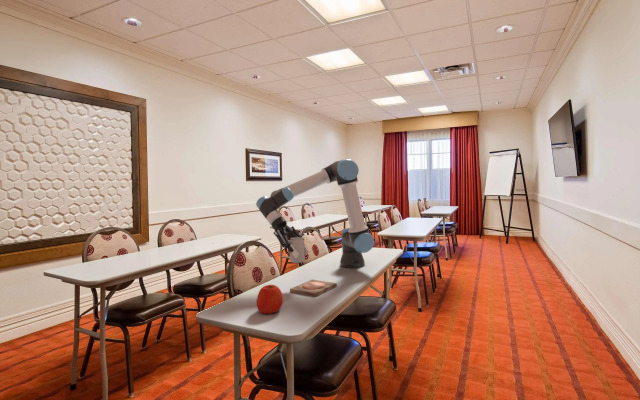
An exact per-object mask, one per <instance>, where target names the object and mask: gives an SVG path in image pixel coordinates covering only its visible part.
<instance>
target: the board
mask: <svg viewBox="0 0 640 400" xmlns="http://www.w3.org/2000/svg"><path fill="white" fill-rule="evenodd" d="M337 286H338V282H331V281H325V280H318V279H309V280H308V281H305V282H302V283H301V284H299V285H296V286H292V287H290V288H289V292H290V293H293V294H299V295H304V296H310V297H318V296H320V295H321V294H324V293H326V292H328V291H330V290H331V289H335V288H336V287H337Z"/></svg>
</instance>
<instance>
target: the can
mask: <svg viewBox="0 0 640 400" xmlns="http://www.w3.org/2000/svg"><path fill="white" fill-rule="evenodd" d="M302 237H303V236H302ZM302 237H293V238H291V237H289V238H290V239H289V243H290V245H291V244H292V245H293V247H294V248H295V249H296V251H297V252H298V253H299V255H298V257H297V258H295V257H294V256H293V254H292V253H291V252H290V251H289V261H290V262H291V263H293V264H301V263H303V262H304V261H305V260H306V255H305V250H304V244H305V239H304V238H303V239H304V240H303V239H302Z"/></svg>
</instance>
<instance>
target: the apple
mask: <svg viewBox="0 0 640 400" xmlns="http://www.w3.org/2000/svg"><path fill="white" fill-rule="evenodd" d="M283 303H284V297H283V293H282V291H281V288H279V287H278V286H277V285H276V284H275V285H274V284H267V285H264V286H262V287H261V288H260V289H259V291H258V293H257V297H256V307H257V310H258V311H259V312H260V314H264V315H270V314H273V313H277V312H278V311H279V310H280V309H281V307H282V306H283Z"/></svg>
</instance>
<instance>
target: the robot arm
mask: <svg viewBox="0 0 640 400" xmlns="http://www.w3.org/2000/svg"><path fill="white" fill-rule="evenodd" d="M320 170H321V171H318V172H316V173H314V174H312V175H309V176H306V177H305V178H302V179H299V180H298V181H295V182H293V183H291V184H287V186H284V187H281V188H279V189H277V190H273V191H272V192H271V193H270V197H268V196H267V195H266V196H265V195H263V196H261V197H258V199H257V201H256V202H255V205H256V207H257V209H258V211H259V212H260V214H262V215H263V217H264V219H265V220H266V221H267V223H268V224H270V226H271V228H272V229H273V230H274V231H273V235H275V237H276V239H277V240H278V242H279V244H280V246H281V247H282V248H284V249H285V250H289V253H290V252H291V253H292V254H293V256H294V257H295V258H297V257H298V255H299V253H298V252H297V251H296V249H295V248H294V247H293V245H292V244H291V245H290V243H289V241H290V239H289V238H293V237H302V239H303V240H304V241H305V238H304V237H303V236H302V235H301V234H300V233H299V232H298V231H297V230H296V229H295V226H291V227H290V226H289V225H288V222H287V221H286V219H285V218H284V217H283V215H282V214H281V212H280V211H279V209H280V208H281V207H283V206H284V205H286V204H288V203H289V202H291V200H293V199H294V198H296V197H298V196H300V195H301V194H304V193H307V192H309V191H310V190H313V189H315V188H317V187H320V186H322V185H324V184H331V183H334V182H337V183H336V184H337V186H338V187H339V188H341V193H342V198H343V201H344V206H345V210H346V215H347V219H348V225H349V228H342V230H341V247H342V248H341V249H342V254H341V258H340V262H339V266H340V265H341V268H347V269H348V268H349V269H353V268H361V267H364V266H366V261H365V259H364V256H363V254H365V253H368V252H369V251H371V250H372V249H373V247H374V245H375V239H374V236H373V235H372V234H371V233H370V230H369V227H368V226H367V225H366V223H365V220H364V215H363V212H362V207H361V205H362V204H361V201H360V197H359V193H358V188H357V183H358V182H359V179H358V175H359V166H358V164H357V163H356V162H355V161H354V160H352V159H349V158H348V159H347V158H346V159H341V160H337V161H334V162H333V163H331V164H329V165H328V166H325V167H324V168H321V169H320ZM304 250H305V256H307V255H308V254H309V253H310V250H309V249H308V247H307V246H306V244H305V243H304Z"/></svg>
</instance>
